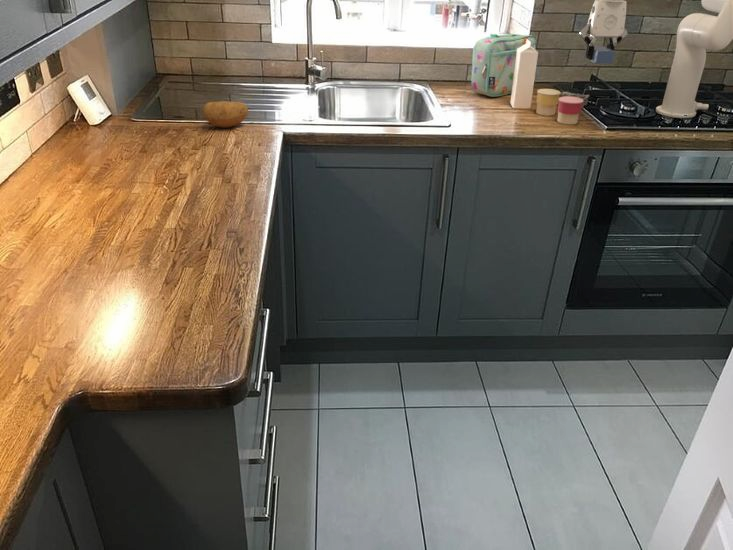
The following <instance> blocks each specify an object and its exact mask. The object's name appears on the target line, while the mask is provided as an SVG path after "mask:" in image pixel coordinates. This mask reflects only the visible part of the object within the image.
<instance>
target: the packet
mask: <svg viewBox="0 0 733 550" xmlns="http://www.w3.org/2000/svg"><path fill="white" fill-rule="evenodd" d="M593 46H594V47H595V48H594V53H593V57H592V60H589V59H587V58H586V56H585V54H586V49H587V45H586V47H585V52H584V57H583V58H584V59H585V60H587V61H589V62H592V63H593V64H613V63H614V58H615V52H616V51H615V50H614V51H613V50H611V49H609V48H607V46H604V45H593Z"/></svg>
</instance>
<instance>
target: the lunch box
mask: <svg viewBox="0 0 733 550" xmlns="http://www.w3.org/2000/svg"><path fill="white" fill-rule="evenodd" d="M527 39H528V40H529V41H530V42H531V47H532V48H534V49H535V50H536V51H537V40H536V37H534V36H533V35H532V34H526V35H525V34H518V33H506V34H497V33H495V34H494V33H490V34H489V36H485V37H483V38H480V39H478V40H477V41H476V42H475V43H474V45H473V48H472V55H471V56H472V58H471V74H470V76H471V77H470V79H471V80H470V82H471V89H472V91H473V92H474V93H475V94H478V95H482V96H483V95H484V96H487V97H490V98H497V97H498V98H499V97H502V96H507V95H511V93H512V85H513V77H514V69H515V61H516V53H517V49H518V48H519V47H521V46H523V45H525V44H526V41H527Z"/></svg>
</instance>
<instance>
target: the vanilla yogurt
mask: <svg viewBox="0 0 733 550" xmlns="http://www.w3.org/2000/svg"><path fill="white" fill-rule="evenodd" d="M536 93H537V94H536V100H535V102H536V109H535V113H536V114H537V115H540V116H546V117H549V116H554V115H556V110H557V106H558V105H557V104H558V101H559V95H560V93H561V91H560V90H558V89H555V88H554V89H553V88H540V89H537V90H536Z"/></svg>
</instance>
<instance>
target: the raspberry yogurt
mask: <svg viewBox="0 0 733 550" xmlns="http://www.w3.org/2000/svg"><path fill="white" fill-rule="evenodd" d="M582 103H583V99H581V98H578V97H571V96H565V97H560V98H559V105H557V112H558V113H557V118H556V121H557V123H560V124H562V125H576V124H578V121H579V116H580V114H581V112H582V108H581V107H582Z"/></svg>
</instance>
